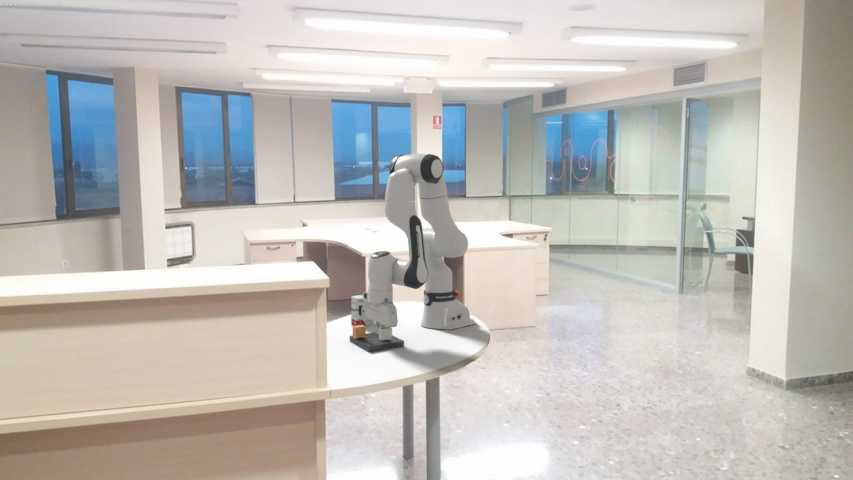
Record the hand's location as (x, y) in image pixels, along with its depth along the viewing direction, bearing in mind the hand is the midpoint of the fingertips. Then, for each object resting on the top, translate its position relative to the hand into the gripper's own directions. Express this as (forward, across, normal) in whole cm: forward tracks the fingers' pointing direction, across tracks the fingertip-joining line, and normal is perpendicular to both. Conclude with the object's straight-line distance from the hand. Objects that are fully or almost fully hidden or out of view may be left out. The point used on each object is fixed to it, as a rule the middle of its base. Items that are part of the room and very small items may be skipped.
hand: (380, 334), depth 236 cm
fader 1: (+1, +4, +7) cm, 8 cm away
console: (+3, 0, +2) cm, 4 cm away
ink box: (+4, +28, -6) cm, 29 cm away
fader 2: (+1, -3, 0) cm, 4 cm away
